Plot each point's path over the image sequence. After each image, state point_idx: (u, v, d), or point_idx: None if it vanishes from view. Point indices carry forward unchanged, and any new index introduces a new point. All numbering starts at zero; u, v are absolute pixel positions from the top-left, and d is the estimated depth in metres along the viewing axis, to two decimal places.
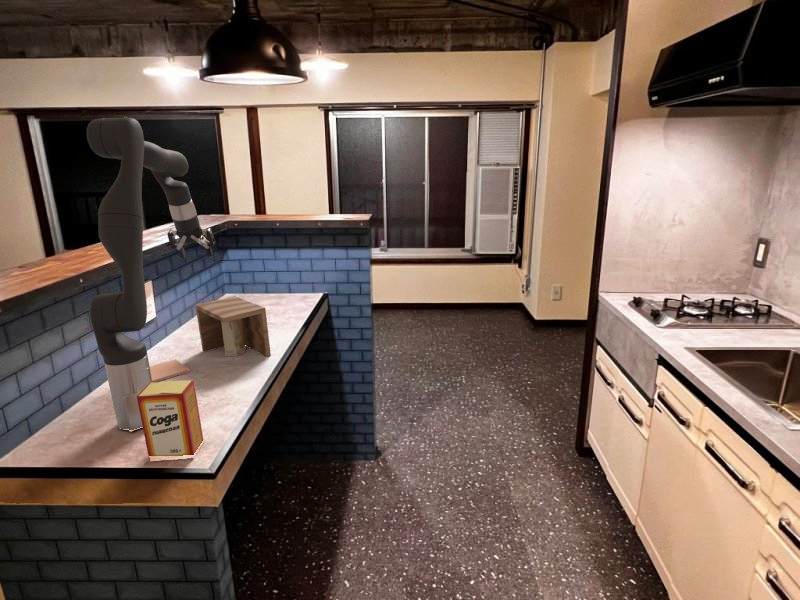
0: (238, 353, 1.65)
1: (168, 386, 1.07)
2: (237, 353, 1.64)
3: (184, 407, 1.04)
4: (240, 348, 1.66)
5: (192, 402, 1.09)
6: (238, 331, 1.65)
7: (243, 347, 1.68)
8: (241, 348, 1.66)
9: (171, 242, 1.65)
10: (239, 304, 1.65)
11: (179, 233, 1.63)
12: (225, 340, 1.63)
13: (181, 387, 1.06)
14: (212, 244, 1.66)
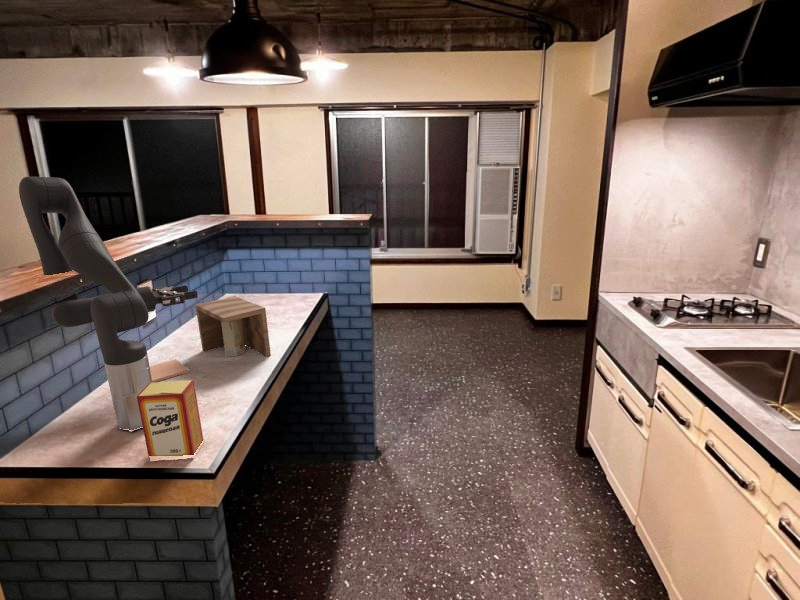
0: (238, 353, 1.65)
1: (168, 386, 1.07)
2: (237, 353, 1.64)
3: (184, 407, 1.04)
4: (240, 348, 1.66)
5: (192, 402, 1.09)
6: (238, 331, 1.65)
7: (243, 347, 1.68)
8: (241, 348, 1.66)
9: (175, 295, 1.44)
10: (239, 304, 1.65)
11: (160, 295, 1.44)
12: (225, 340, 1.63)
13: (181, 387, 1.06)
14: (166, 286, 1.54)
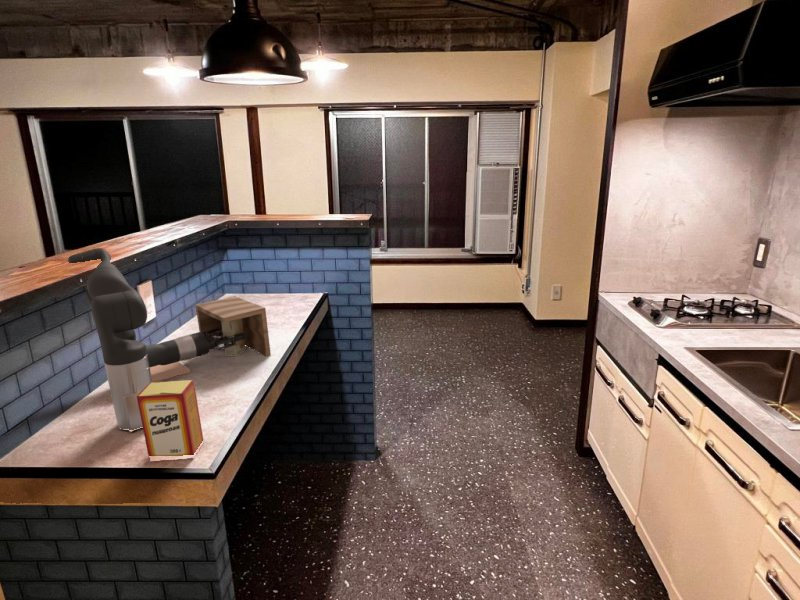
0: (238, 353, 1.65)
1: (168, 386, 1.07)
2: (237, 353, 1.64)
3: (184, 407, 1.04)
4: (240, 348, 1.66)
5: (192, 402, 1.09)
6: (238, 331, 1.65)
7: (243, 347, 1.68)
8: (241, 348, 1.66)
9: (227, 339, 1.58)
10: (239, 304, 1.65)
11: (213, 340, 1.58)
12: None
13: (181, 387, 1.06)
14: (216, 329, 1.68)
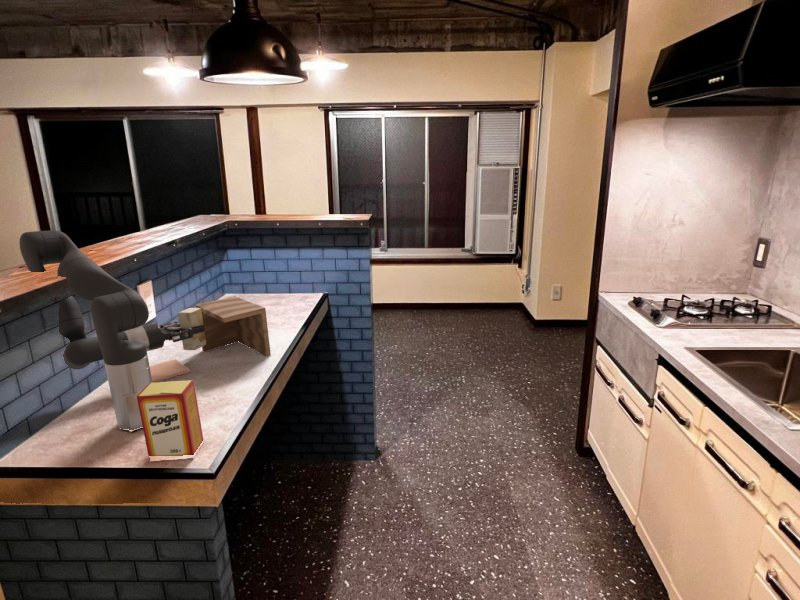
0: (197, 347, 1.54)
1: (168, 386, 1.07)
2: (196, 347, 1.54)
3: (184, 407, 1.04)
4: (199, 342, 1.56)
5: (192, 402, 1.09)
6: (197, 323, 1.54)
7: (204, 341, 1.58)
8: (200, 342, 1.56)
9: (183, 331, 1.48)
10: (239, 304, 1.65)
11: (168, 332, 1.48)
12: None
13: (181, 387, 1.06)
14: (174, 322, 1.57)
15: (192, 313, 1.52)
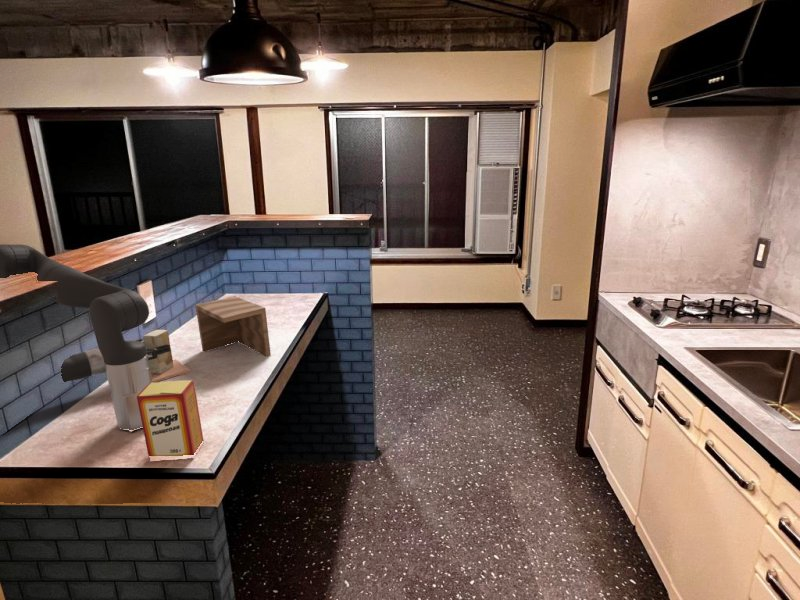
0: (163, 370, 1.51)
1: (168, 386, 1.07)
2: (161, 370, 1.51)
3: (184, 407, 1.04)
4: (166, 365, 1.52)
5: (192, 402, 1.09)
6: None
7: (171, 363, 1.55)
8: (167, 364, 1.53)
9: (147, 351, 1.43)
10: (239, 304, 1.65)
11: None
12: None
13: (181, 387, 1.06)
14: None
15: (157, 336, 1.48)
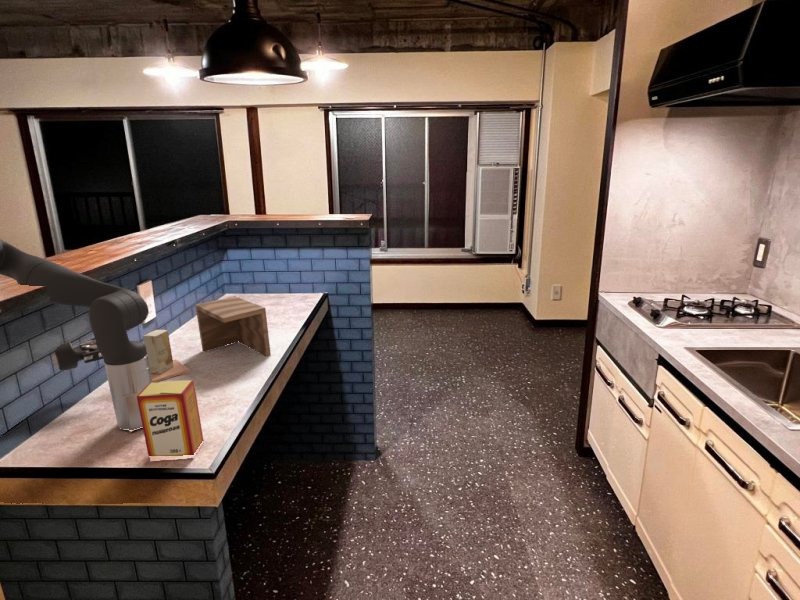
0: (163, 370, 1.51)
1: (168, 386, 1.07)
2: (161, 370, 1.51)
3: (184, 407, 1.04)
4: (166, 365, 1.52)
5: (192, 402, 1.09)
6: (163, 346, 1.51)
7: (171, 363, 1.55)
8: (167, 364, 1.53)
9: (97, 350, 1.34)
10: (239, 304, 1.65)
11: (81, 351, 1.34)
12: (148, 356, 1.50)
13: (181, 387, 1.06)
14: (92, 338, 1.44)
15: (157, 336, 1.48)
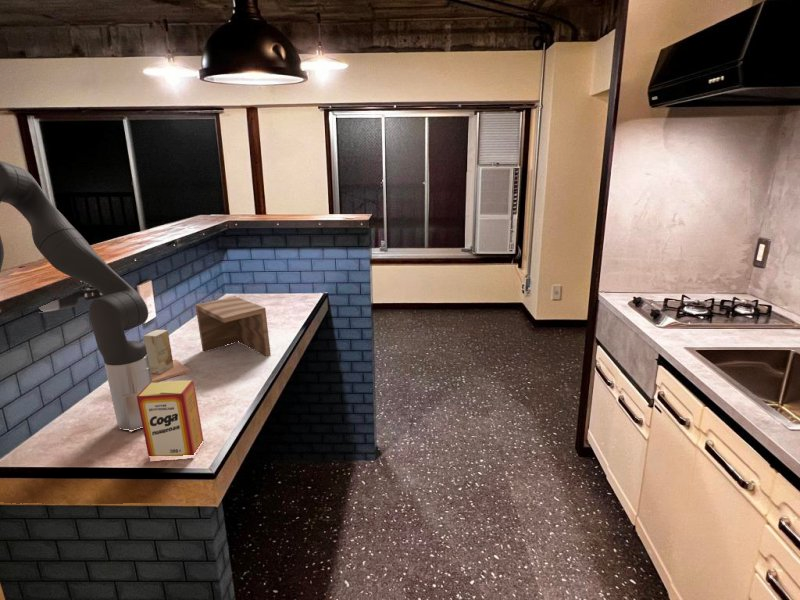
0: (163, 370, 1.51)
1: (168, 386, 1.07)
2: (161, 370, 1.51)
3: (184, 407, 1.04)
4: (166, 365, 1.52)
5: (192, 402, 1.09)
6: (163, 346, 1.51)
7: (171, 363, 1.55)
8: (167, 364, 1.53)
9: None
10: (239, 304, 1.65)
11: None
12: (148, 356, 1.50)
13: (181, 387, 1.06)
14: None
15: (157, 336, 1.49)
